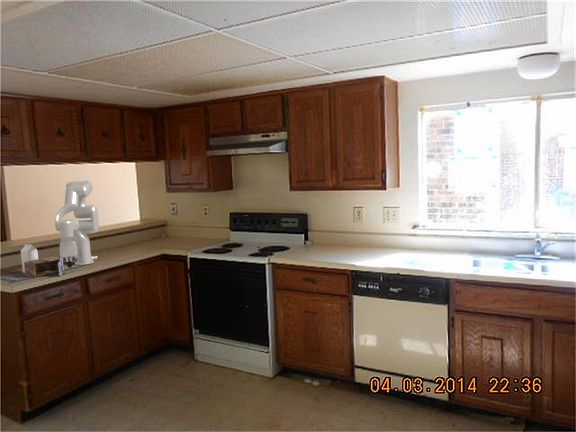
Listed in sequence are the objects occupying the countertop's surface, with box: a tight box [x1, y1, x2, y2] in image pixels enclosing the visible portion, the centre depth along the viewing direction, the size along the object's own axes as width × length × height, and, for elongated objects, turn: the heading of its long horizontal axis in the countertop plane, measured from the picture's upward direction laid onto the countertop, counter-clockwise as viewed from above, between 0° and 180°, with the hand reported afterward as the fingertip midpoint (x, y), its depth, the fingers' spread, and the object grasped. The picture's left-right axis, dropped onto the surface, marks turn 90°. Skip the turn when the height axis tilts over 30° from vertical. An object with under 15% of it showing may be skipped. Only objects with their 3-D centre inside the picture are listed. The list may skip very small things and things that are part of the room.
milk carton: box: [20, 243, 39, 274], centre depth 302 cm, size 7×7×19 cm
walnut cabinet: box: [24, 256, 60, 278], centre depth 296 cm, size 18×12×9 cm, turn 148°
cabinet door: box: [58, 259, 65, 277], centre depth 291 cm, size 18×2×8 cm, turn 23°
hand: (70, 267), depth 290 cm, fingers closed
